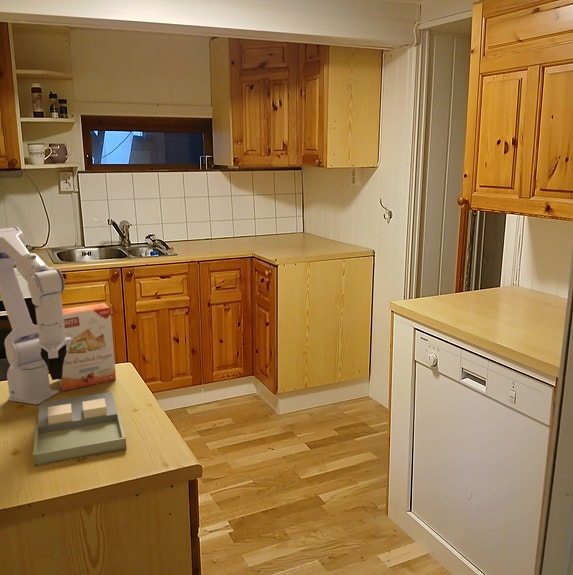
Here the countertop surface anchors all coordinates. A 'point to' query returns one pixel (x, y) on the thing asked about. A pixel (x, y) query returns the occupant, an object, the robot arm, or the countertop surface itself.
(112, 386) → the countertop surface
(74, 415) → the slate plate
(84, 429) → the tray
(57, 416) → the tile
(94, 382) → the cracker box
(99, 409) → the tile
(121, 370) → the countertop surface
